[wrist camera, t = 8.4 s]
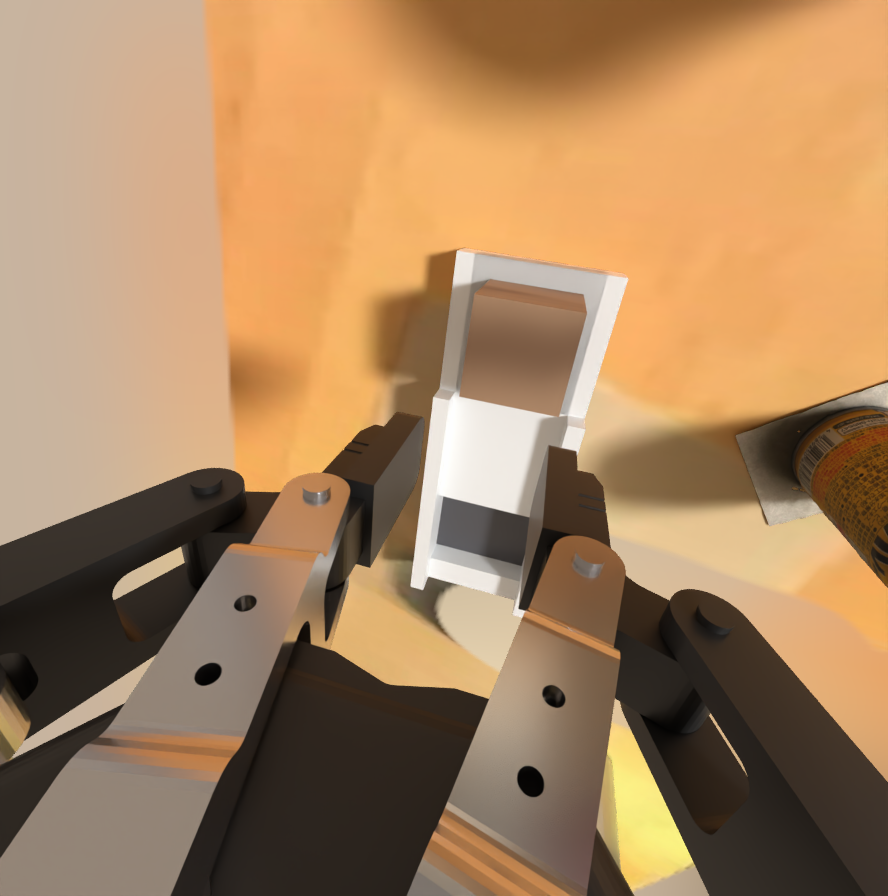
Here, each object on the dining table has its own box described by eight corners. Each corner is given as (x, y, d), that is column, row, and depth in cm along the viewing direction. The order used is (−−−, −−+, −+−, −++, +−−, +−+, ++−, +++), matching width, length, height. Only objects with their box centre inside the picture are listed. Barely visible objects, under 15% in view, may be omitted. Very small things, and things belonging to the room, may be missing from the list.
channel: (529, 584, 36) (525, 618, 33) (423, 556, 38) (410, 586, 35) (623, 273, 24) (632, 282, 21) (464, 247, 26) (450, 252, 23)
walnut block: (560, 382, 26) (558, 417, 22) (476, 366, 27) (459, 396, 22) (583, 294, 24) (587, 313, 19) (490, 279, 24) (474, 293, 20)
